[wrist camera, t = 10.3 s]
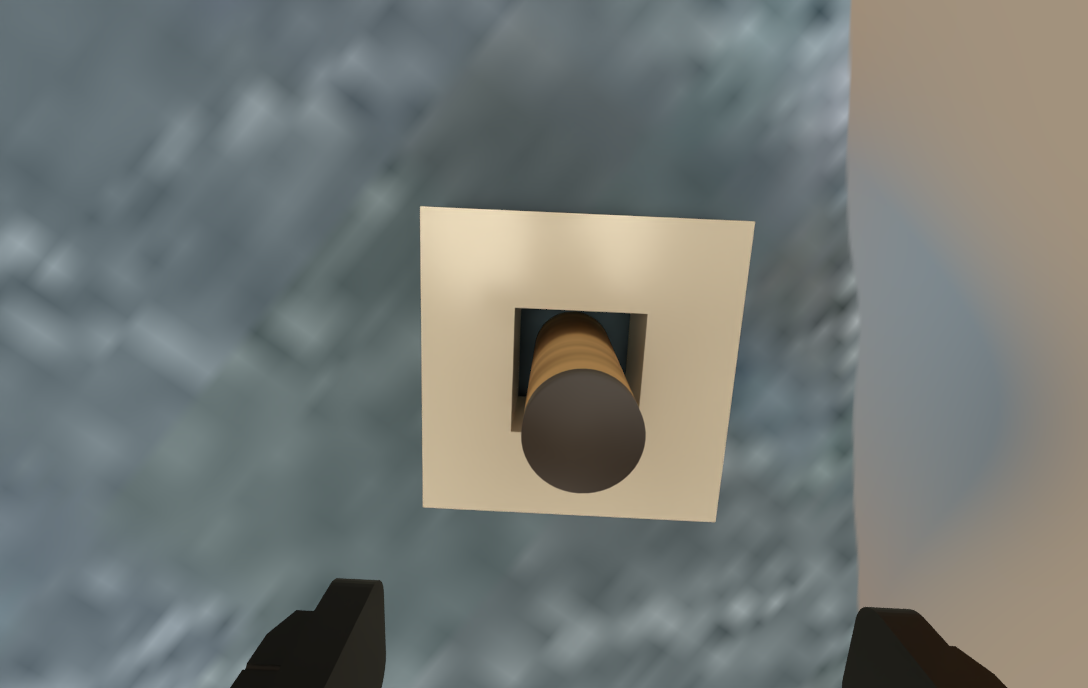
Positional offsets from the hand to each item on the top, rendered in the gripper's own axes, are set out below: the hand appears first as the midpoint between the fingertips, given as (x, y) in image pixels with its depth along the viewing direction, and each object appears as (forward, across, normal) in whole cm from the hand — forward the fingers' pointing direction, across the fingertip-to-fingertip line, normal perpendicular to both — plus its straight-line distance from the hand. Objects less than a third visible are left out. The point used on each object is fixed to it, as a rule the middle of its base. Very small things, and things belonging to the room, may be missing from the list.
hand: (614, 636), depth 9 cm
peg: (+20, 0, 0) cm, 20 cm away
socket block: (+20, 0, 0) cm, 20 cm away
